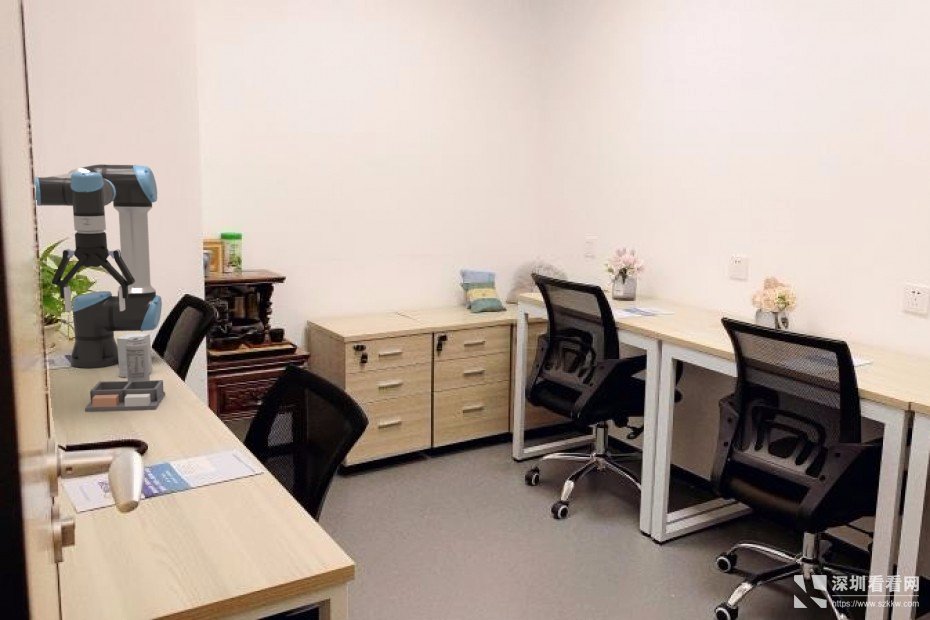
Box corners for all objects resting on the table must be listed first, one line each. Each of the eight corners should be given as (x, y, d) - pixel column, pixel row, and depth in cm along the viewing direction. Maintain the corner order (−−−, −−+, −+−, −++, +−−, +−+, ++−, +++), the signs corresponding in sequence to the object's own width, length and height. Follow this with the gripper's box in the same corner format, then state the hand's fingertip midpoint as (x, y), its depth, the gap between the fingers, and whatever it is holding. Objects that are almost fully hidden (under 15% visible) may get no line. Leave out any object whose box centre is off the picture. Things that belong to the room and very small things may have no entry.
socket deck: (98, 396, 219) (97, 381, 218) (165, 395, 222) (164, 380, 222) (85, 411, 207) (84, 395, 206) (155, 409, 210) (154, 393, 209)
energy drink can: (153, 385, 232) (151, 336, 229) (143, 390, 226) (140, 341, 223) (134, 383, 232) (131, 335, 229) (124, 389, 226) (121, 340, 223)
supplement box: (153, 372, 245) (151, 333, 243) (141, 378, 238) (139, 339, 235) (131, 370, 246) (128, 332, 243) (118, 377, 239) (116, 337, 236)
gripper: (34, 232, 196) (40, 313, 201) (136, 233, 201) (141, 312, 205) (44, 229, 204) (50, 307, 208) (143, 230, 208) (147, 307, 212)
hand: (95, 310), depth 207 cm, fingers open, 13 cm apart
